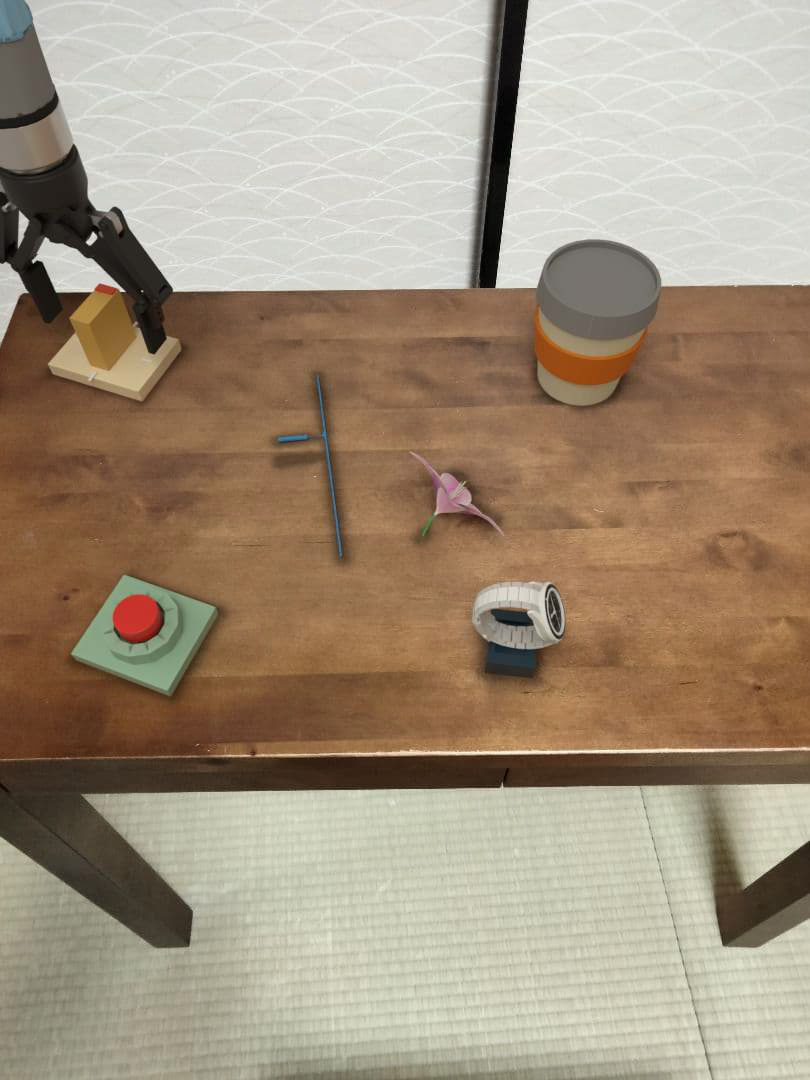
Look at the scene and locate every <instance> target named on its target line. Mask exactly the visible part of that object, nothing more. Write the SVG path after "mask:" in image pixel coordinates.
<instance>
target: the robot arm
mask: <svg viewBox="0 0 810 1080" xmlns="http://www.w3.org/2000/svg"><path fill="white" fill-rule="evenodd" d="M59 96H60V95H58V92H57V89H56V85H55V83H54V82H53V79H52V77H51V73H50V69H49V67H48V64H47V61H46V58H45V56H44V53H43V48H42V46H41V44H40V39H39V37H38V34H37V30H36V27H35V23H34V17H33V14H32V11H31V8H30V6H29V4H28V3H27V1H26V0H0V265H4V264H5V263H7V264H9V265H10V268H11V269H12V270H13V271H14V272H15V273H17V274H18V276H19V278H20V281H21V282H22V284H23V286H24V289H25V290H26V291H27V293H28V294H30V296H31V298H32V300H33V302H34V304H35V306H36V308H37V310H38V313H39V314H40V317H41V318H42V321H43V323H45V324H48V325H50V324H51V323H52V322H53V321H54V320H55V319H56V318H57V317H58V315H60V314H61V312H62V311H63V310H64V307H63V305H62V303H61V300H60V297H59V296H58V294H57V291H56V289H55V286H54V284H53V282H52V280H51V277H50V274H49V273H48V271H47V268H46V267H45V264H44V262H43V260H42V261H41V260H37V259H36V260H35V261H34V262H33V260H34V259H35V258H37V256H39V254H38V252H39V250H40V248H41V246H42V245H43V243H44V241H45V239H48V242H49V243H52V244H57V245H58V244H61V245H63V246H65V247H68V248H71V249H75V250H77V251H78V252H79V253H80V254H81V255H82V256H83V257H84V258H85V259H91V260H93V261H94V262H95V263H96V264H97V265H98V266H99V267H100V268H101V269H102V270H103V271H104V272H105V273H106V274H107V275H108V276H109V277H110V278H111V279H112V280H113V281H114V282H115V283H116V284H117V285H118V286H119V287H120V288H121V289H122V290H123V291H124V292H125V293H126V294H127V295H128V296H129V297H130V298H132V299H131V300H133V301H134V304H133V305H132V310H133V313H134V315H135V319H136V322H138V324H137V325H138V328H140V330H141V333H142V336H143V338H144V341H145V344H146V347H147V350H148V353H150V354H154V355H155V353H156V352H157V351H158V350H159V348H160V347H161V346H162V345H163V343H164V342H165V341H166V339H167V337H166V336H167V334H166V331H165V328H164V325H163V323H164V322H165V320H166V318H165V314H164V311H163V307H162V306H163V305H164V303H166V301H168V299H169V298H170V296H171V295H172V293H174V288H173V287H172V285H171V284H170V282H169V281H168V279H167V278H166V277H165V276H164V273H162V271H161V270H160V269H159V267H158V266H157V265H156V263H155V262H154V260H153V259H152V257H151V256H150V255H149V254H148V252H147V250H146V249H145V248H144V247H143V245H142V244H141V242H140V241H139V240H138V238H137V237H136V236H135V234H134V233H133V231H132V230H131V228H130V227H129V224H128V221H127V220H126V217H125V214H124V213H123V211H122V209H120V208H119V207H117V206H112V207H110V209H109V210H108V211H105V210H98V209H97V208H96V207H95V206H94V205H93V203H92V201H91V200H90V199H89V190H88V189H89V187H88V186H89V178H88V175H87V172H86V169H85V166H84V163H83V161H82V157H81V155H80V152H79V150H78V147H77V146H76V144H75V143H74V138H73V133H72V131H71V128H70V125H69V123H68V119H67V117H66V114H65V111H64V108H63V104H62V101H61V99H60V97H59ZM20 213H21V214H22V215H23V217H25V218H26V219H27V221H28V222H27V226H26V228H25V229H24V231H23V232H24V233H23V234H22V236H23V238H22V240H21V242H20V243H19V229H20ZM93 233H94V234H95V235H96V239H95V240H94V241H93V242H92V243H91V244H88V243H87V242H88V241H89V240H90V239H91V237H92V234H93Z"/></svg>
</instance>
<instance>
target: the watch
mask: <svg viewBox="0 0 810 1080" xmlns="http://www.w3.org/2000/svg"><path fill="white" fill-rule="evenodd" d="M502 608H503V609H502ZM504 608H515V609H524V610H527V611H521V610H511V609H504ZM489 610H490V611H489ZM471 618H472V621H471V622H472V624H473V626H474V628H475V630H476V631H477V633H478V634H479V635H480V636H481V638H483V639H484V640H486V652H485V664H484V666H485V667H484V673H485V674H491V675H492V674H493V675H500V676H508V677H517V678H525V679H533V678H534V675H535V672H536V668H537V652H538V651H537V650H538V649H544V648H547V647H550V646H552V645H558V644H559V642H560V641H562V640H563V638H564V636H565V632H566V614H565V606H564V602H563V599H562V596H561V593H560V591H559V590H558V588H557V586H556V585H555V584H554V583H553V582H552V581H545V582H544V583H543V582H539V581H535V580H531V581H528V582H523V581H504V582H497V583H494V584H491V585H489V586H486V587H485V588H483V589H481V590H480V591H479V592H478V593H477V595H476V596H475V600H474V601H473V607H472V617H471Z"/></svg>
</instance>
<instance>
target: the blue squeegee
mask: <svg viewBox="0 0 810 1080" xmlns="http://www.w3.org/2000/svg"><path fill="white" fill-rule="evenodd" d="M319 377H320V376H319V374H316V379H317V380H316V381H317V387H318V394H319V395H318V396H319V403H320V409H321V419H322V426H323V432H322V434H321V435H320V437H322V438H323V439H324V440H325V442H324V443H325V450H326V456H327V464H328V471H329V473H328V474H329V480H330V486H331V487H330V488H331V494H332V502H333V504H332V505H333V510H334V518H335V519H334V520H335V525H336V527H335V528H336V534H337V541H338V542H337V543H338V548H339V557H340V558H343V553H342V545H341V536H340V530H339V523H338V515H337V508H336V500H335V491H334V484H333V476H332V469H331V462H330V460H331V459H330V454H329V446H328V439H327V437H328V436H327V431H326V422H325V417H324V408H323V399H322V393H321V385H320V378H319ZM316 437H318V435H314V436H312V435H311V438H316ZM309 438H310V436H308V434H303V435H291V436H290V435H289V436H280V437H278V438H277V439H278V440H277V441H278V443H283V442H294V441H305V440H306V441H307V440H308V439H309Z"/></svg>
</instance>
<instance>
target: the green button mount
mask: <svg viewBox="0 0 810 1080" xmlns="http://www.w3.org/2000/svg"><path fill="white" fill-rule="evenodd" d="M138 594H141V595H146V596H149V597H151V598H152V599H153V600H154V601H155V602H156V604H157V606H158V608H159V609H160V611H161V614H162V618H163V621H162V625H161V628H160V630H159V631H158V632H157V634H156V635H155V636H153V637H152V638H150V639H149V640H146V641H143V642H130V641H127V640H125V639H124V638H123V637H122V636H121V635H120V634H119V632H118V630H117V629H116V627H115V626H114V624H113V619H112V617H113V612H114V609H115V608H116V606H117V605H118V604H119V603H120V602H121V601H122V600H123V599H125V598H127V597H129V596H132V595H138ZM218 616H219V611H218V609H217V607H216V606H214V605H211V604H208V603H205V602H203V601H200V600H197V599H194V598H191V597H189V596H187V595H183V594H180V593H177V592H175V591H172V590H169V589H166V588H163V587H161V586H158V585H155V584H152V583H149V582H147V581H144V580H140V579H138V578H135V577H133V576H129V575H128V574H122V576H121V578H120V579H119V581H118V582H117V584H116V585H115V587H114V589H113V590H112V592H111V593H110V595H109V596H108V598H107V599H106V600H105V602H104V604H102V606H101V608H100V609H99V611H98V613H96V615H95V617H94V618H93V620H92V621H91V623H90V624H89V626H88V627H87V629H86V630H85V631H84V633H83V635H82V636H81V638H80V639H79V641H78V643H77V644H76V645H75V646H74V648H73V650H72V651H71V653H70V654H71V656H72V658H73V659H74V660H75V661H77V662H80V663H82V664H85V665H88V666H90V667H93V668H95V669H97V670H101V671H102V672H104V673H105V672H106V673H108V674H111V675H113V676H116V677H119V678H121V679H124V680H127V681H129V682H131V683H134V684H137V685H139V686H142V687H144V688H147V689H150V690H152V691H155V692H157V693H160V694H163V695H165V696H168V697H172V696H173V694H174V693H175V690H176V689H177V687H178V685H179V683H180V682H181V680H182V678H183V677H184V675H185V673H186V671H187V670H188V668H189V666H190V664H191V663H192V661H193V659H194V657H195V655H196V654H197V652H198V650H199V649H200V647H201V645H202V643H203V642H204V640H205V638H206V636H207V635H208V633H209V631H210V630H211V628H212V626H213V625H214V623H215V621H216V620H217V618H218Z"/></svg>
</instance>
